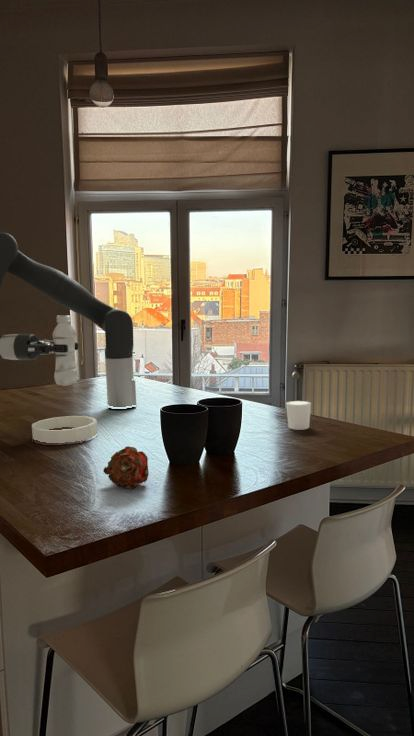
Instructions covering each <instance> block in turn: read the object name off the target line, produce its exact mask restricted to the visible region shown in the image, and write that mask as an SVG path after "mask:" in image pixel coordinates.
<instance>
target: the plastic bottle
mask: <svg viewBox="0 0 414 736" xmlns="http://www.w3.org/2000/svg"><path fill="white" fill-rule="evenodd" d="M71 322H72V321H71V315H68V314H65V315H56V323H57V325H56V326H55V328H54V330H53V332H52V338H53V339H52V340H54V345H55V344H66V345H68V352H66V353H57V352H55V353H54V354H55V370H54V376H53V377H54V382H55V383H56V384H57V386H58V385H59V386H64V387H68V386H71V385H75V384H76V383H77V382H78V378H79V375H78V369H77V366H76V365H77V363H76V353H75V352H76V350H75V342H76V340H77V333H76V330H75V328H74V327H73V326H72V324H71Z"/></svg>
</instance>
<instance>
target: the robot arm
mask: <svg viewBox="0 0 414 736" xmlns="http://www.w3.org/2000/svg"><path fill="white" fill-rule="evenodd" d="M7 273H9V274H10V275H12V276H15V277H16V278H19V279H20V280H22V281H23V282H24V283H26V284H27V285H28V286H30V287H32V288H34V289H35V290H36V291H38V292H39V293H41V294H43V295H44V296H45V297H47V298H48V299H50V300H52V301H53V302H55V303H57V304H58V305H60V306H62V307H64V308H66V309H68V310H70V311H72V312H73V313H76V314H78V315H81V316H83V317H85V318H86V319H87V320H89V321H91V323H93V324H95V325H96V326H98V328H99V329H101V330H102V331H104V336H105V338H104V339H105V346H104V347H105V349H104V362H105V363H104V365H105V379H106V382H105V383H106V397H107V398H106V399H107V403H106V404H107V406H108V405H109V406H113V407H126V406H132V405H136V406H137V393H136V379H135V376H134V359H133V358H134V357H133V355H134V354H133V352H134V351H133V350H134V323H133V319H132V316H131V315H130V314H129V313H128V312H127V311H125V310H123V309H118V308H116V307H112V306H111V305H109V304H108V303H105V302H103V301H101V300H100V299H98V298H97V297H95V296H94V295H93V294H92V293H91V292H90V291H89V290H88V289H87V288H85V287H84V286H83V285H82V284H81V283H79V282H78V281H76V280H75V279H74V278H72V277H70V276H68V275H67V274H65V273H64V272H62V271H60V270H58V269H56V268H54V267H51V266H48V265H45V264H42V263H40V262H37V261H35V260H34V259H32V258H30V257H28V256H27V255H25V254H24V253H23V252H21V251H20V250H19V245H18V242H17V241H16V239H15V238H14V236H13V235H11V234H10V233H7V232H3V231H1V232H0V290H1V288H2V285H3V283H4V280H5V277H6V274H7ZM78 350H79V342H78V341H77V342H76V341H75V351H78ZM55 352H57V353H66V352H68V345H66V344H55V345H54V340H53V339H52V340H48V339H41V340H40V339H39V337H38V336H37V335H36V334H34V333H33V334H32V333H13V334H12V333H11V334H0V360H12V361H34V360H37V359H38V357H39V355H40V356H41V355H50V354H56V353H55Z"/></svg>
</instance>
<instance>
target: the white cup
mask: <svg viewBox="0 0 414 736" xmlns="http://www.w3.org/2000/svg"><path fill="white" fill-rule="evenodd" d="M285 406H286V415H287V425H288V428H289V429H291V430H295V431H296V430H298V431H300V430H301V431H302V430H303V431H304V430H307V429H309V428H310V421H311V420H310V419H311V412H312V411H311V409H312V402H311V401H309V400H291V401H287V402H285Z"/></svg>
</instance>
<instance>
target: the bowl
mask: <svg viewBox="0 0 414 736" xmlns="http://www.w3.org/2000/svg"><path fill="white" fill-rule="evenodd" d="M62 427H74V428H72V429H62V430H49V429H54V428H62ZM31 431H32V435H31V436H32V440H33V439H34V440H38V441H40V442H46V443H65V442H75V441H81V440H85V439H88V438H92V437H93V436H95V435H96V434H97V433H98V434H99V432H98V431H99V427H98V420H97V419H96V418H95V417H92V416H91V417H90V416H85V415H68V416H67V415H66V416H57V417H56V416H55V417H51V418H46V419H41V420H38V421H36V422H34V423H32V424H31Z"/></svg>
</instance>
